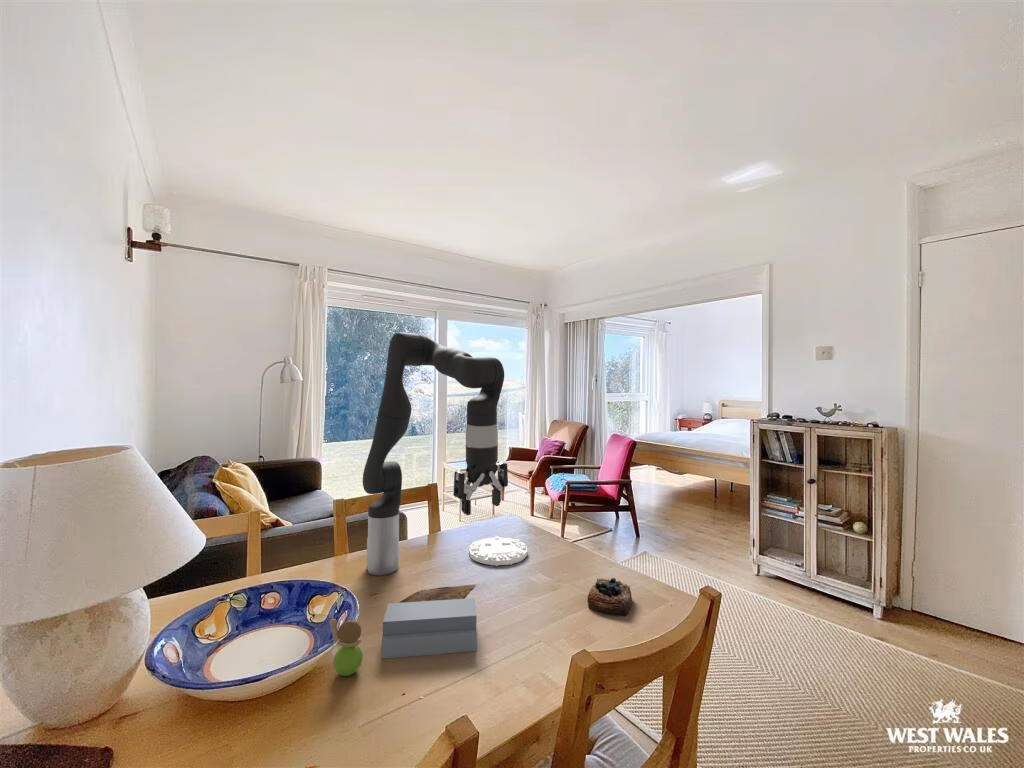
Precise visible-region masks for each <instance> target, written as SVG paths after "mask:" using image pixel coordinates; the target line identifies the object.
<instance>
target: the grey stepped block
mask: <svg viewBox="0 0 1024 768" xmlns="http://www.w3.org/2000/svg"><path fill="white" fill-rule="evenodd" d="M476 607H477V606H476V598H475V597H473V598H472V597H471V598H464V599H453V600H437V601H421V602H406V603H399V602H395V603H394V602H391V603H387V606H386V610H385V613H384V617H383V618H382V619H383V620H382V637H381V645H380V646H381V649H380V650H381V657H380V659H382V660H383V659H392V658H394V659H395V658H406V657H418V656H430V655H442V654H454V653H465V652H466V653H468V652H477V651H478V650H477V649H478V648H477V647H478V645H477V643H478V641H477V640H478V637H477V636H478V635H477V634H478V633H477V631H478V630H477V619H478V618H477V617H478V616H477V608H476Z"/></svg>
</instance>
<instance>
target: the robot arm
mask: <svg viewBox="0 0 1024 768" xmlns="http://www.w3.org/2000/svg"><path fill="white" fill-rule="evenodd" d="M387 352H388V353H387V359H386V360H387V361H386V370H385V377H384V385H383V390H382V394H381V399H380V404H379V407H378V412H377V417H376V422H375V428H374V433H373V438H372V442H371V445H370V449H369V453H368V456H367V459H366V462H365V465H364V469H363V472H362V473H363V474H362V488H363V490H364V492H365V493H366V494H368V495H375V494H376V495H378V494H382V493H383V494H382V495H380V497H379V498H378V499H377V500H375V501H373V502H372V503H370V504H369V506H368V509H367V515H368V516H367V523H368V524H367V538H366V568H367V573H368V574H369V575H373V576H386V575H390V574H392V573H395V572H396V571H398V569H399V559H400V558H399V554H400V553H399V552H400V551H399V550H400V548H399V546H400V539H399V538H400V506H401V504H402V486H403V485H402V484H403V473H402V469H401V466H400V464H399V462H397V461H394V460H392V461H391V460H390V461H389V460H388V461H385V460H386V458H387V456H388V455H389V453H390V452H391V451H392V449H393V448H394V447H395V446H396V445H397V444H398V442H399V441H400V440H401V439H402V438H403V436H404V435H405V433H406V432H407V431H408V428H409V424H410V423H409V422H410V419H411V414H412V405H411V400H410V398H409V396H408V393H407V391H406V389H405V386H404V383H403V381H404V380H403V377H404V370H405V366H410V367H412V366H413V367H421V366H431V367H432V366H433V367H434V368H435V370H436V372H437V371H438V373H441V374H442V375H444V376H446V377H450V378H452V379H454V380H456V381H457V382H458V383H459V384H460V385H461V386H462V387H465V388H468V389H480V391H479V394H477V396H475V397H473V398H471V399H469V400H468V401H467V405H466V428H465V429H466V430H465V464H466V469H465V470H464V471H463V470H462V471H459V470H455V471H454V473H453V477H454V479H453V494H452V495H453V496H454V497H455V498H456V499H457V498H458V499H459V500H461V501H460V502H461V507H460V508H461V512H462V513H463V514H464V515H466V516H470V515H471V514H472V505H471V504H472V500H471V498H472V496H473V494H474V492H476V491H477V489H478V488H480V487H483V486H489V485H490V486H491V488H492V489H491V504H492V505H493V506H494V507H499V506H500V504H501V501H502V490H503V489H504V487H505V488H506V487H508V486H509V485H508V484H509V477H508V475H509V474H508V463H506V462H504V461H501V460H499V459H498V458H499V454H498V453H499V452H498V451H499V450H498V449H499V432H498V431H499V430H498V409H497V408H498V404H499V401H500V398H501V393H502V389H503V385H504V380H505V368H504V365H503V363H502V362H501V361H500V359H498V358H496V357H493V356H492V357H491V356H489V357H487V356H486V357H474V356H472V355H471V354H470V353H468V352H465V351H463V350H459V349H456V348H452V347H448V346H444V345H442V344H440V343H438V342H436V341H435V340H434V339H432V338H430V337H428V336H426V335H424V334H421V333H413V332H403V331H400V332H399V331H398V332H396V333H394V334H393V336H392V337H391V338H390V342H389V346H388V350H387ZM496 473H497V476H496ZM471 484H472V485H471Z"/></svg>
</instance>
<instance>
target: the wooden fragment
mask: <svg viewBox="0 0 1024 768" xmlns="http://www.w3.org/2000/svg"><path fill="white" fill-rule="evenodd" d="M476 586H477V585H476V584H475V583H474V584H465V585H456V586H444V587H435V588H428V589H423V590H418V591H416V592H414V593H412V594H410V595H409V596H408V597H406V598H404V599H402V600H400V601H398V603H406V602H421V601H437V600H453V599H466V597H468V594H470V592H471V591H472V589H475V588H476Z"/></svg>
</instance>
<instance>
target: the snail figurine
mask: <svg viewBox="0 0 1024 768" xmlns="http://www.w3.org/2000/svg"><path fill="white" fill-rule="evenodd" d="M333 615H334V612H332V611H331V612H330V614H329V616H328V617H329V618H330V619H329V626H330V632H331V636H332V639H333V640H334V642H335V641H337V640H339V639H340V640H339V641H338V642H337V643H336V644H337V645H338V646H340V648H338V649H337V650H336V653H335V654H334V658H333V661H332V663H333V668H334V670H335V672H336V673H337V674H338V675H340V676H343V677H347V676H350V675H353V674H354V673H356V672H357V671H358V670H359V668H360V667H361V665H362V663H363V659H364V658H363V655H364V654H363V651H362V648H361V647H360V646H359V645H360V643H362V639H360V638H361V636H362V628H361V627H362V626H361V625H360V624H359V623H358V622H357V621H356V620H352V619H351V620H345V621H344V622H342V623H341V624H340V626H339V627H338V626H337V623H338V621H337V619H336V618H333V617H332V616H333Z"/></svg>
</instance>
